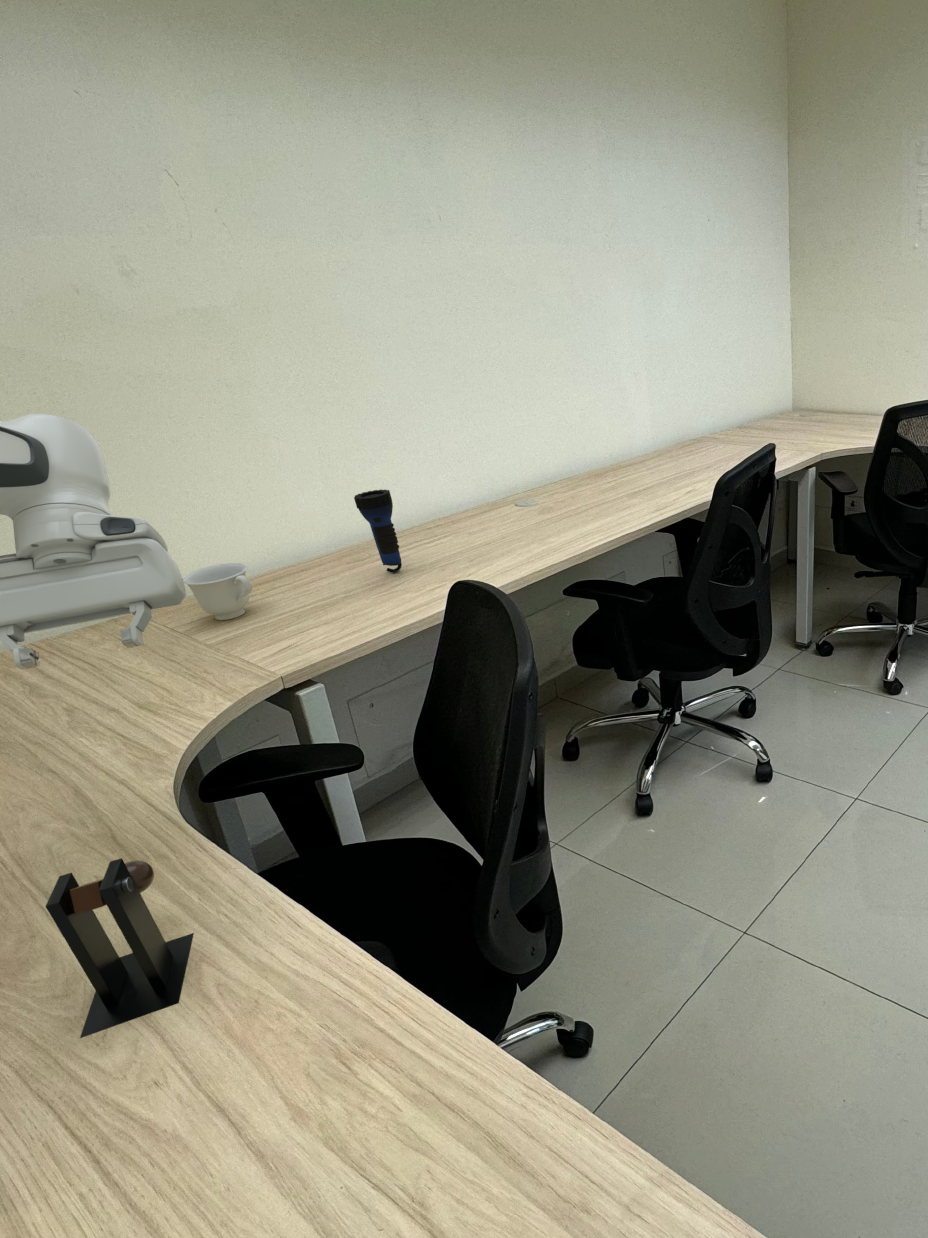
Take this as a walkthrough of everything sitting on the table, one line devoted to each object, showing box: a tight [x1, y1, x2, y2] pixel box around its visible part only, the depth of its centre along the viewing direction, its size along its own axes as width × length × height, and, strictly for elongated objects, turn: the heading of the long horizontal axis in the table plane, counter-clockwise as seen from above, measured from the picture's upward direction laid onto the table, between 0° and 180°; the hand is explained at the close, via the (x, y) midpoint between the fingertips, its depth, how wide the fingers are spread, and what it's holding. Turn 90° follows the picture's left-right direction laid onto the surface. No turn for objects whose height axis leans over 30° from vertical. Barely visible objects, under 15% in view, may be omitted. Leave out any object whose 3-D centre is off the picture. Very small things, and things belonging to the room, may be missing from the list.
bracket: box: [45, 857, 195, 1039], centre depth 75 cm, size 10×8×15 cm
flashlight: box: [353, 489, 403, 573], centre depth 183 cm, size 8×8×20 cm
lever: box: [70, 860, 155, 915], centre depth 78 cm, size 13×4×4 cm, turn 26°
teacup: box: [182, 562, 253, 621], centre depth 165 cm, size 12×15×10 cm
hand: (81, 655), depth 83 cm, fingers open, 8 cm apart
